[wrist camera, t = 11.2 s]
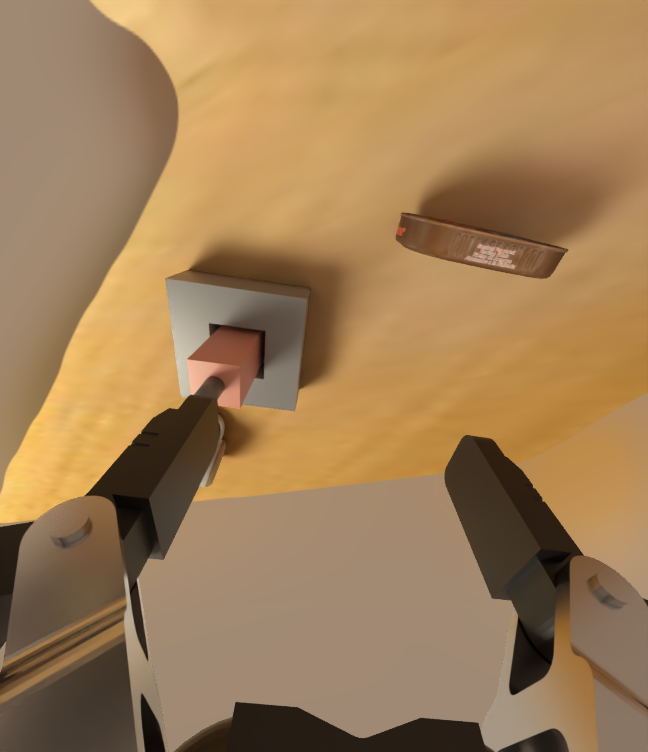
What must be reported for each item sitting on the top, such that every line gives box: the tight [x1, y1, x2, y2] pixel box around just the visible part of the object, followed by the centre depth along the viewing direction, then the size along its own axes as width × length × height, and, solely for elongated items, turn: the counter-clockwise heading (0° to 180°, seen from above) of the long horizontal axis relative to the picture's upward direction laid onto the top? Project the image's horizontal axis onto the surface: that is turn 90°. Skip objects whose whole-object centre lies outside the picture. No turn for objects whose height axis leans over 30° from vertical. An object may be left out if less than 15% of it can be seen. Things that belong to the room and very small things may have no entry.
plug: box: [187, 325, 266, 408], centre depth 29 cm, size 4×4×14 cm
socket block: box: [165, 270, 310, 411], centre depth 34 cm, size 14×14×5 cm
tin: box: [396, 213, 568, 279], centre depth 26 cm, size 15×3×8 cm, turn 79°
